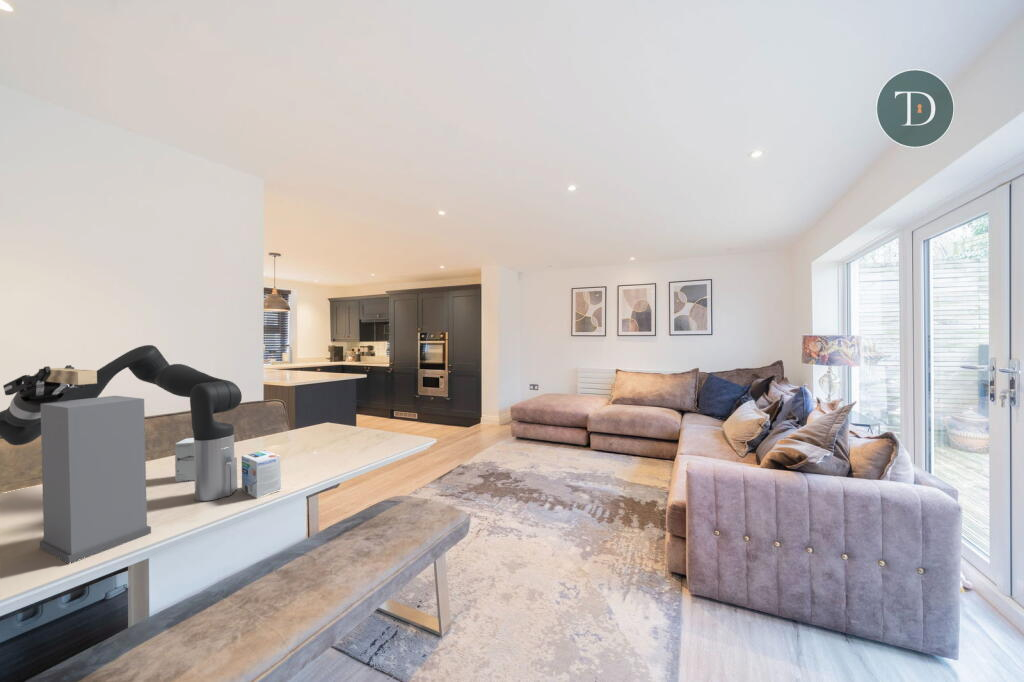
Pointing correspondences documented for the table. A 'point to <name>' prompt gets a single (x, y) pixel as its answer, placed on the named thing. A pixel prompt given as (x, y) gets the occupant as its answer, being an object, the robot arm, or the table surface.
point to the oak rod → (72, 376)
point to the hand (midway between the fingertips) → (59, 369)
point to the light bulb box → (261, 473)
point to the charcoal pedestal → (93, 475)
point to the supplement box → (184, 460)
